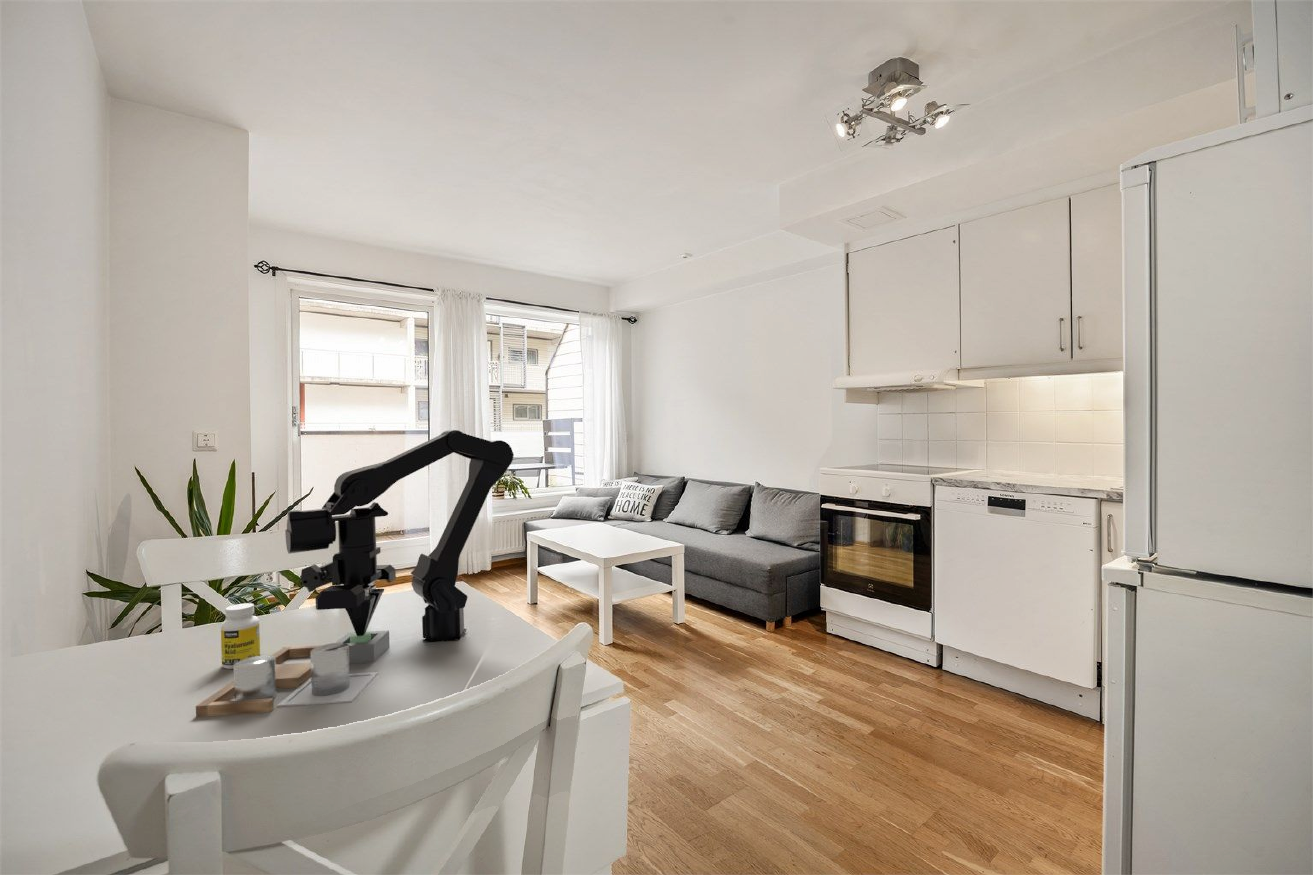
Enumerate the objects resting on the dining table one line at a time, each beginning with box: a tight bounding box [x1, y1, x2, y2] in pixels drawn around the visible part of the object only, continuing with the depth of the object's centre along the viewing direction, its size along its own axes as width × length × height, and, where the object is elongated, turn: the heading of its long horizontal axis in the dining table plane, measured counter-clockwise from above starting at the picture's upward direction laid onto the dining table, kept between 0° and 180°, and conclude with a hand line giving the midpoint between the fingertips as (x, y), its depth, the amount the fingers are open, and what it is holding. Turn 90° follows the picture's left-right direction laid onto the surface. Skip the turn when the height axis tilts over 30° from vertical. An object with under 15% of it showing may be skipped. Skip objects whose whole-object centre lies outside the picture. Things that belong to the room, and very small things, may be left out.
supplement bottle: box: [220, 602, 261, 670], centre depth 101 cm, size 5×5×10 cm
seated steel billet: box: [233, 654, 277, 701], centre depth 86 cm, size 5×5×6 cm
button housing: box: [334, 630, 390, 665], centre depth 102 cm, size 7×7×4 cm
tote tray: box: [276, 671, 379, 708], centre depth 88 cm, size 10×10×1 cm
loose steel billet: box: [310, 642, 351, 696], centre depth 88 cm, size 5×5×6 cm
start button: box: [350, 631, 371, 643], centre depth 102 cm, size 3×3×3 cm
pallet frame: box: [195, 644, 323, 718], centre depth 92 cm, size 10×22×2 cm, turn 5°
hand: (360, 635), depth 102 cm, fingers closed, pressing on start button
